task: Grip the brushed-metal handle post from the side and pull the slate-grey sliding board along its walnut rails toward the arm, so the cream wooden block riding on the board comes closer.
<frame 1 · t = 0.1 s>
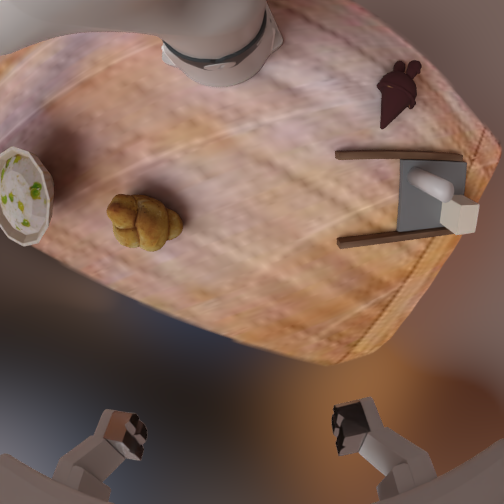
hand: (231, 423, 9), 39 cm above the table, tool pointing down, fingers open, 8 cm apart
board: (449, 203, 39), point 6 cm above the table, slide at 0.0 cm, touching block
bread roll: (150, 218, 46), on the table
rails: (403, 195, 45), on the table
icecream: (387, 93, 36), on the table
bowl: (42, 184, 41), on the table
block: (451, 208, 45), point 1 cm above the table, touching board
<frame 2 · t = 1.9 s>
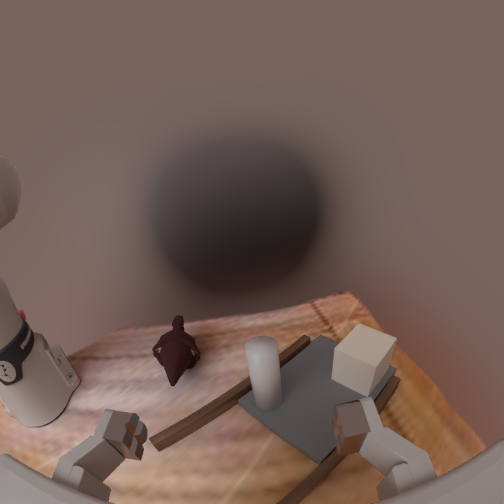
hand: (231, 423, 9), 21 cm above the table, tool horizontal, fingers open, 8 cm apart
board: (324, 365, 30), point 6 cm above the table, slide at 0.0 cm, touching block
rails: (283, 428, 28), on the table
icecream: (182, 367, 40), on the table
block: (360, 374, 32), point 1 cm above the table, touching board
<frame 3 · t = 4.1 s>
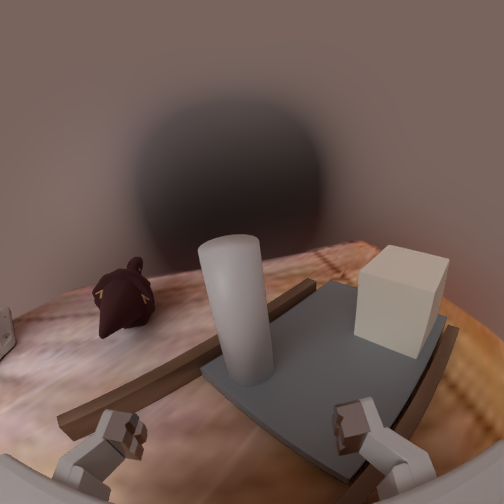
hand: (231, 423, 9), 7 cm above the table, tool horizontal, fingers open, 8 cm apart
board: (344, 301, 18), point 6 cm above the table, slide at 0.0 cm, touching block
rails: (275, 417, 16), on the table
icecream: (134, 324, 29), on the table
block: (398, 326, 20), point 1 cm above the table, touching board
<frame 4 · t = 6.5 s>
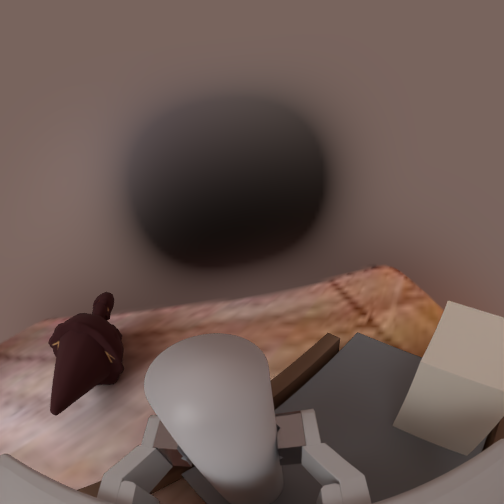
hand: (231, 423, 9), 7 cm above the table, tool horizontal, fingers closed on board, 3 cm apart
board: (395, 409, 9), point 6 cm above the table, slide at 0.0 cm, touching block, gripper
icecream: (103, 380, 20), on the table
block: (446, 407, 12), point 1 cm above the table, touching board
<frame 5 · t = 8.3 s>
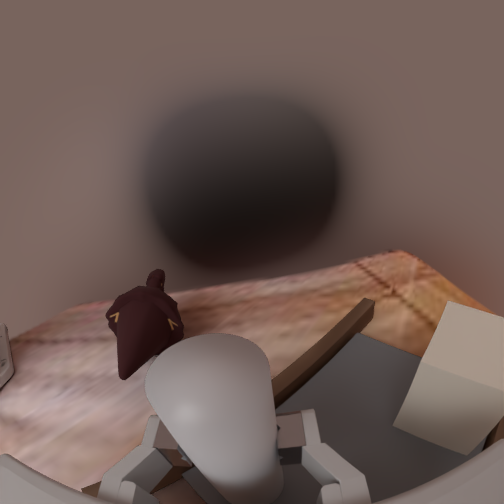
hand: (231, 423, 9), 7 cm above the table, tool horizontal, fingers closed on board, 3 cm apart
board: (395, 409, 9), point 6 cm above the table, slide at 6.3 cm, touching block, gripper
rails: (360, 470, 11), on the table
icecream: (157, 351, 24), on the table
block: (446, 407, 12), point 1 cm above the table, touching board
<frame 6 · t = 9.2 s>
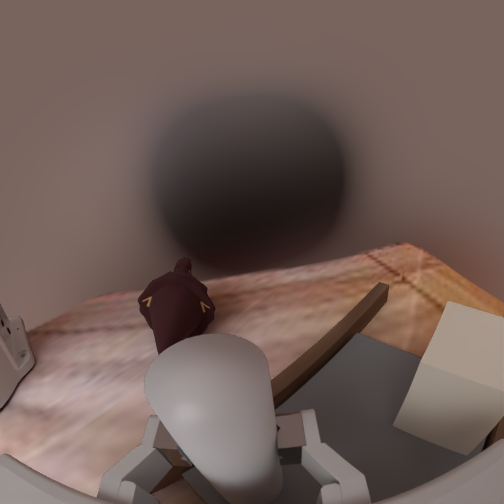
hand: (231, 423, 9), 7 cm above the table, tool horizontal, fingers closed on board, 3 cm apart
board: (395, 409, 9), point 6 cm above the table, slide at 9.8 cm, touching block, gripper
rails: (390, 430, 13), on the table
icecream: (186, 334, 26), on the table
block: (446, 407, 12), point 1 cm above the table, touching board
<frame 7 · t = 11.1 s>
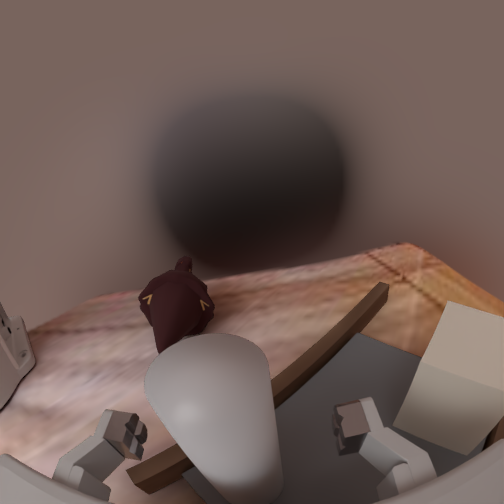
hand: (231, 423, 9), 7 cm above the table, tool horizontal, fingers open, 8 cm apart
board: (395, 409, 9), point 6 cm above the table, slide at 10.0 cm, touching block
rails: (390, 429, 13), on the table
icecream: (186, 332, 27), on the table
block: (446, 407, 12), point 1 cm above the table, touching board
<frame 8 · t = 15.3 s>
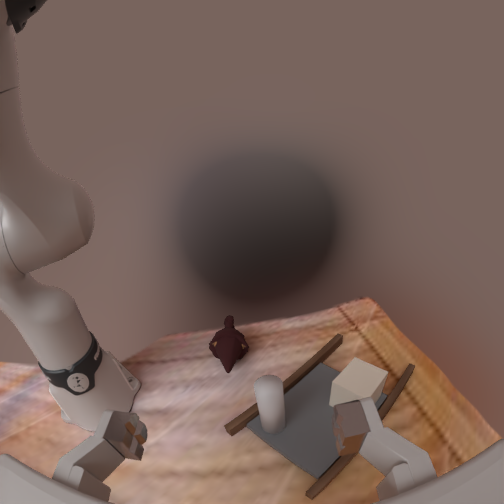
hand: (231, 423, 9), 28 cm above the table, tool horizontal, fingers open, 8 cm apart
board: (322, 396, 33), point 6 cm above the table, slide at 10.0 cm, touching block
rails: (330, 407, 36), on the table
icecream: (232, 358, 51), on the table
block: (355, 400, 35), point 1 cm above the table, touching board
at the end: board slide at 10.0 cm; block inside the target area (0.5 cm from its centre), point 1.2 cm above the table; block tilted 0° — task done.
